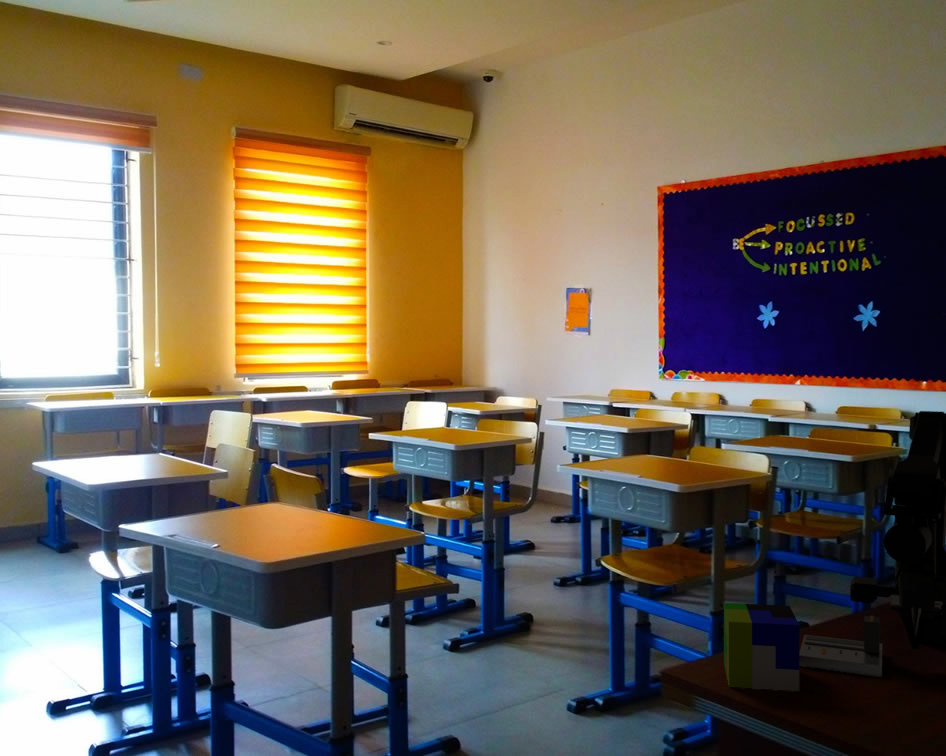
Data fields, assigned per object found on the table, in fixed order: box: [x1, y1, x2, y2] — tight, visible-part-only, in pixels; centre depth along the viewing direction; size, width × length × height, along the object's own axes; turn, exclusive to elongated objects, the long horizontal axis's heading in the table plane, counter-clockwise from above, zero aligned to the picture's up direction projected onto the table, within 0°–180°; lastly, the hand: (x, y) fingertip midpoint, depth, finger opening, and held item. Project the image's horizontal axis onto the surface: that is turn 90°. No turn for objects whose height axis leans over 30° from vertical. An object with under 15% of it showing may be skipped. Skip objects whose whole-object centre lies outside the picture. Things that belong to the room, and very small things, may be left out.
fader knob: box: [863, 615, 881, 653], centre depth 144 cm, size 3×2×5 cm
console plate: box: [799, 634, 883, 678], centre depth 145 cm, size 11×12×2 cm
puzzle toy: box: [723, 602, 800, 692], centre depth 138 cm, size 10×10×10 cm
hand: (915, 648), depth 141 cm, fingers closed
